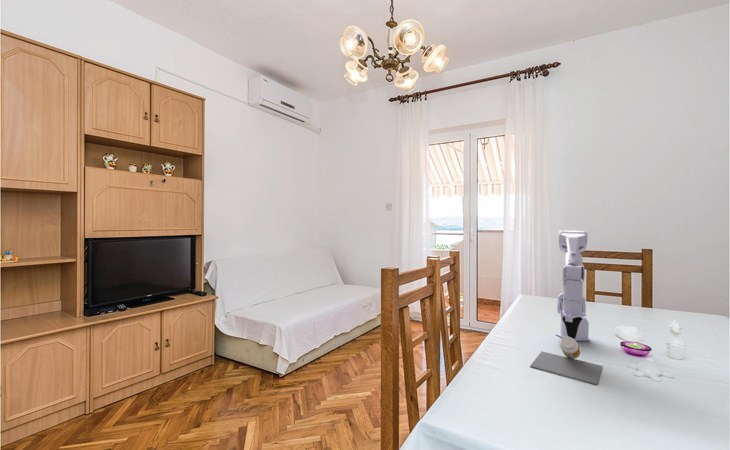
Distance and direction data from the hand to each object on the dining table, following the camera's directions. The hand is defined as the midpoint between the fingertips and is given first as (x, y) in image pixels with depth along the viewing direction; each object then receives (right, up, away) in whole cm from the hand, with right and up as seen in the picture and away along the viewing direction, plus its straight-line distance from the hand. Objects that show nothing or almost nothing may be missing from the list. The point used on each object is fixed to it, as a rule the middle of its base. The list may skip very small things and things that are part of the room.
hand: (571, 337), depth 117 cm
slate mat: (-7, -7, -8) cm, 12 cm away
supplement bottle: (0, -5, 0) cm, 5 cm away
